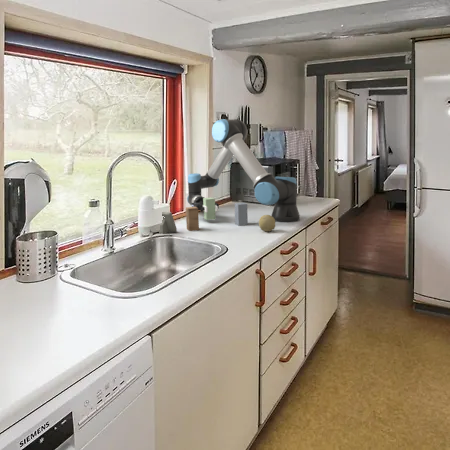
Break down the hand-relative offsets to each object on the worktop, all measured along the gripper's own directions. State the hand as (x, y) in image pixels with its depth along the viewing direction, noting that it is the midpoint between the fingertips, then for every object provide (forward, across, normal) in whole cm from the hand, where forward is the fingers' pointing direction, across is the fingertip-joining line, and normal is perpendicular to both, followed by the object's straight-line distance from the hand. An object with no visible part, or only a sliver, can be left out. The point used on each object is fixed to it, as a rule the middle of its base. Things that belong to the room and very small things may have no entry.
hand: (212, 209), depth 230 cm
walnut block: (+8, +13, -8) cm, 17 cm away
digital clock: (+5, +28, -8) cm, 29 cm away
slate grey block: (+8, -13, -8) cm, 17 cm away
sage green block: (-5, 0, -6) cm, 8 cm away
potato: (+28, -18, -8) cm, 35 cm away
